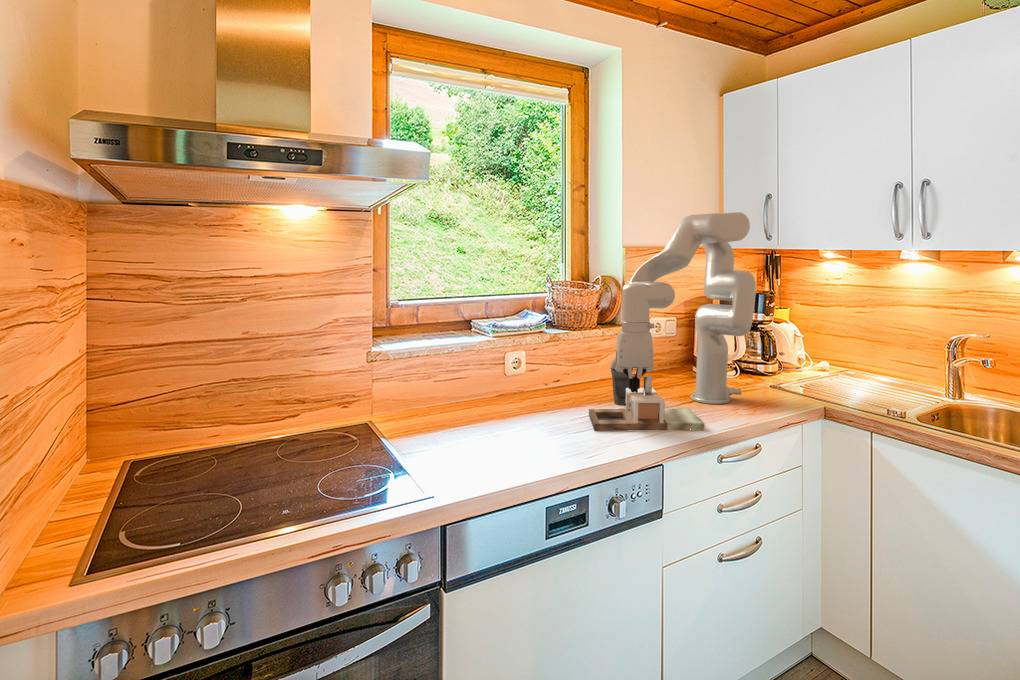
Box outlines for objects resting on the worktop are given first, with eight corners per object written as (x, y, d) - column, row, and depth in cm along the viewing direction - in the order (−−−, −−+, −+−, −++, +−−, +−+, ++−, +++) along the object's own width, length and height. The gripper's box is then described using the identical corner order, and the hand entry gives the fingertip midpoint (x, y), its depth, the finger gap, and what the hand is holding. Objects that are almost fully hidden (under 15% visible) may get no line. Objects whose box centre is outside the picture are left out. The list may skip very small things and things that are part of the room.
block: (653, 413, 163) (653, 399, 162) (657, 418, 157) (658, 404, 157) (632, 413, 163) (633, 399, 162) (636, 418, 158) (636, 405, 157)
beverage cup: (630, 406, 177) (632, 344, 174) (608, 405, 179) (608, 343, 176) (634, 401, 184) (635, 341, 180) (611, 399, 186) (612, 340, 183)
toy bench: (652, 408, 167) (652, 387, 166) (663, 423, 153) (664, 400, 152) (625, 409, 168) (625, 387, 167) (634, 423, 153) (634, 400, 152)
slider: (658, 411, 164) (659, 374, 162) (664, 418, 157) (665, 379, 155) (630, 411, 164) (631, 374, 162) (634, 418, 157) (635, 379, 155)
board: (688, 415, 167) (689, 408, 167) (703, 430, 153) (704, 423, 153) (588, 415, 168) (588, 409, 168) (594, 430, 154) (594, 423, 154)
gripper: (659, 325, 160) (657, 388, 163) (606, 326, 160) (605, 388, 163) (665, 329, 152) (663, 394, 155) (610, 329, 153) (609, 394, 156)
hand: (633, 391), depth 159 cm, fingers closed
